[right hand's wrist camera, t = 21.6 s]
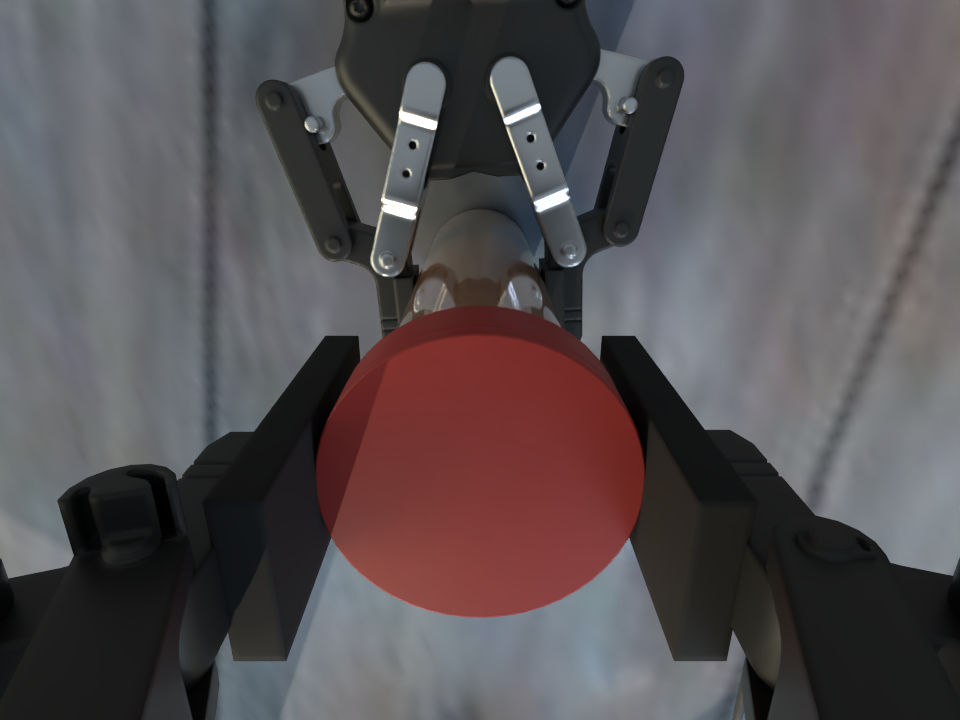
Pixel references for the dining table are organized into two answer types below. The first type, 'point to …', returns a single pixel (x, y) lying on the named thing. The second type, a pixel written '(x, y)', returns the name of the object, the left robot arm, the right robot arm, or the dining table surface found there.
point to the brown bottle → (480, 269)
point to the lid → (480, 464)
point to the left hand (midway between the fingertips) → (484, 359)
